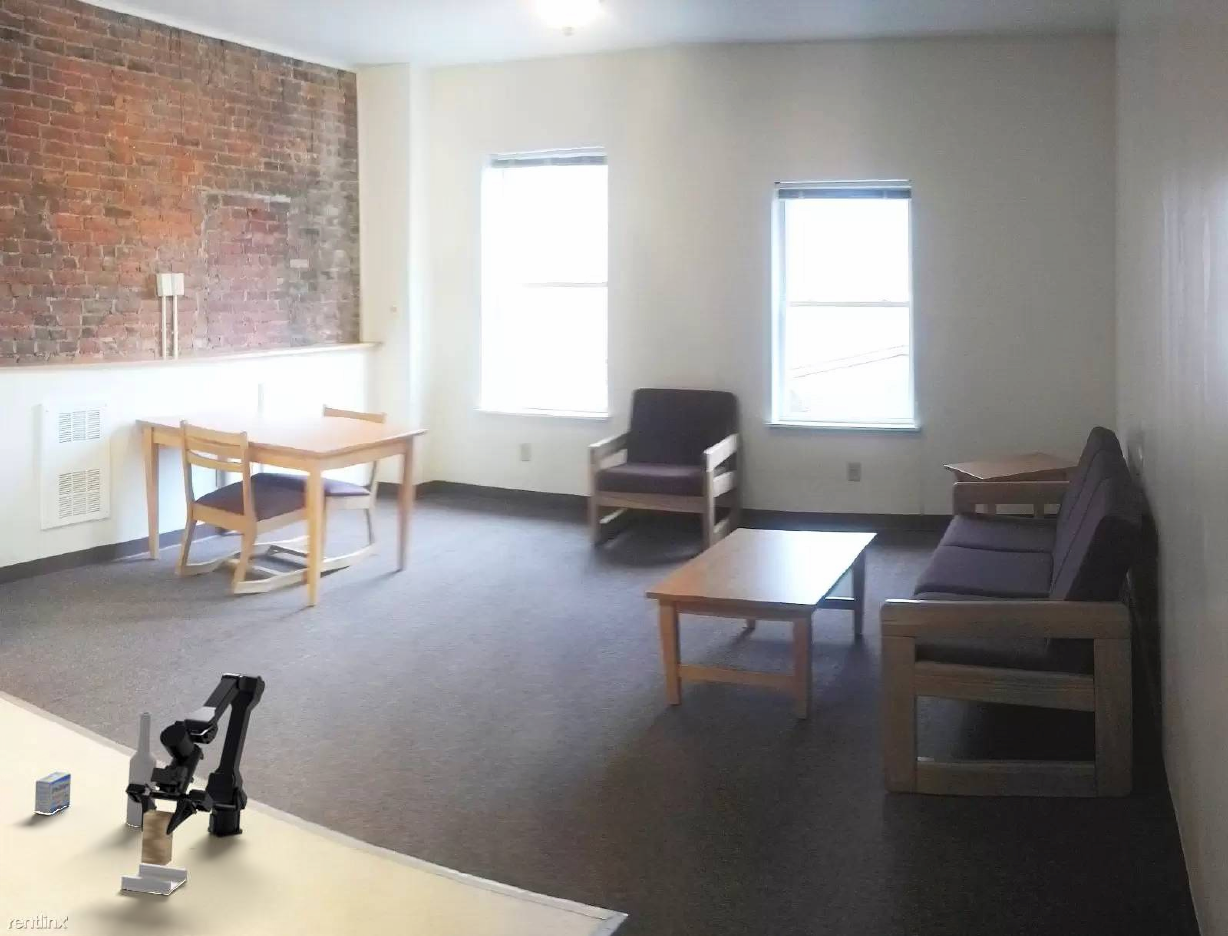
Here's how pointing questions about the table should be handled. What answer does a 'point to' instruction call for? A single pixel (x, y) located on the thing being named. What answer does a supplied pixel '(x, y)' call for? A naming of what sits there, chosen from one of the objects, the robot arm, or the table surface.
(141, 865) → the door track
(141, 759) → the bottle
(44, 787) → the medicine box
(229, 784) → the robot arm
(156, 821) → the wooden block
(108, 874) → the table surface
